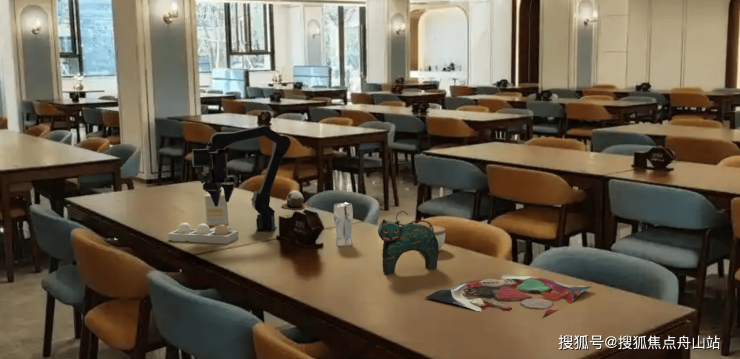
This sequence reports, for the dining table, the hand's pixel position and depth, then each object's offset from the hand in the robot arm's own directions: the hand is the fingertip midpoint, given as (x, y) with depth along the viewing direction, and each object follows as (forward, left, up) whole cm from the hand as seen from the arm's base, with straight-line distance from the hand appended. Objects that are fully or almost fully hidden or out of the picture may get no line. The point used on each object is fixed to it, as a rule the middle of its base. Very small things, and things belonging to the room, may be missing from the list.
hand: (221, 204), depth 320 cm
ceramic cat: (-85, +36, -12) cm, 93 cm away
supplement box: (+10, -14, -12) cm, 21 cm away
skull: (-7, -57, -12) cm, 59 cm away
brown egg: (-4, +10, -11) cm, 15 cm away
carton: (+4, +10, -12) cm, 16 cm away
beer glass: (-53, +7, -12) cm, 55 cm away
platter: (-120, +55, -13) cm, 132 cm away
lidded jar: (-86, +9, -12) cm, 87 cm away
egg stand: (+2, -1, -12) cm, 12 cm away
